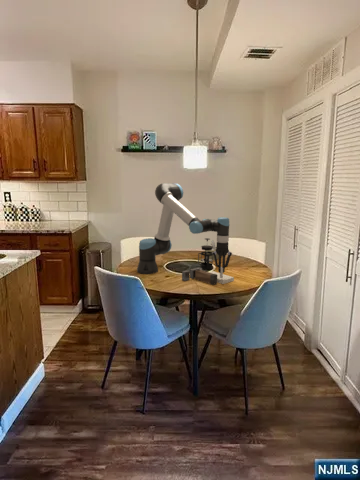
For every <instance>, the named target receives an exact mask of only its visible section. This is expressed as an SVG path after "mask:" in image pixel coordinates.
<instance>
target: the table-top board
mask: <svg viewBox="0 0 360 480" xmlns="http://www.w3.org/2000/svg"><path fill="white" fill-rule="evenodd" d="M208 272H209V273H212V274H217V284H218V283H219V284H221V285H224V284H228V283H231V282H234V280H235V277H234V276H230V275H226V274H224V273H223V278H220V273H219V272H217V271H208Z"/></svg>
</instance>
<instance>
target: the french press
mask: <svg viewBox="0 0 360 480" xmlns="http://www.w3.org/2000/svg"><path fill="white" fill-rule="evenodd" d="M204 240H206V242H208V241H209V240H211V238H204ZM200 248H201V250H202V251H201V252H198V254H197V256H198V257H197V259H198V260H197V265H198V266H199V268H202V270H203V271H209V270H213V261H214V260H213V254H212V252H205V250H212V248H213V246H211V245H208V244H205V245H201V246H200ZM207 253H209V254H207ZM202 256H203V258H202ZM209 256H212V260H211V259H209Z"/></svg>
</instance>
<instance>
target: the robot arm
mask: <svg viewBox="0 0 360 480" xmlns="http://www.w3.org/2000/svg"><path fill="white" fill-rule="evenodd" d="M154 195H155V198H156V200H157V201H158V202H159V203H161V205H162V209H161V213H160V214H161V215H160V217H159V218H160V219H159V223H158V228H157V233H156V234H155V235H154V236H153V237H154V238H151V237H150V238H143V239H141V240H140V241H139V246H138V251H139V252H138V253H139V254H138V256H139V258H138V259H139V261H138V264H137V268H136V272H137V274H143V275H151V274H153V275H154V274H156V273H158V272H159V268H158V264H157V262H156V256H159V255H164V254H167V253H169V252H170V251H171V249H172V241H171V237H170V231H171V227H172V222H173V218H174V214H175V215H176V216H177V217H178V218H179V219H180V220H182V221H183V222H184V223H185V224H186V225H187V226H188V230H189V232H191V234H194V235H195V234H196V235H198V234H202V233H208V232H213V233H214V232H215V233H216V247H217V248H216V251H215V252H212V254H213V255H214V260H215V261H214V260H213V261H214V263H215V267H216V268H218V269H217V270H218V272H217V273H220V278H223V274H224V273H225V268H228V266H229V263H230V259H231V257H232V255H233V253H232V251H230V249H229V238H230V236H229V235H230V218H229V217H223V216H221V217H218V218H217V219H210V218H204V219H202V220H201V219H199V218H198V217H197V216H196V215H195V214H193V212H192V211H190V210H189V209H188V208H187V207H186V206H185V205H184V204H182V203H181V202H180V200H182V198H183V196H184V190H183V187H182V186H181V185H180V184H179V183H175V182H170V183H169V182H168V183H165V182H163V183H160V184H158V185H157V186H156V188H155V190H154ZM216 252H217V254H218V255H219V258H218V259H217V258H216ZM226 256H227V257H226Z"/></svg>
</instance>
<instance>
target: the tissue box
mask: <svg viewBox="0 0 360 480" xmlns="http://www.w3.org/2000/svg"><path fill="white" fill-rule="evenodd" d="M210 246H213V248H212V250H204V252H215V251H216V248H217V246H216V243H215V241H214V240H213V239H212V241H211V243H210ZM207 254H209V253H207ZM216 258H217V260H219V255H218V254H217V252H216ZM209 259H211V260H212V256H209ZM213 261H214V262H215V260H214V255H213Z"/></svg>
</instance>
